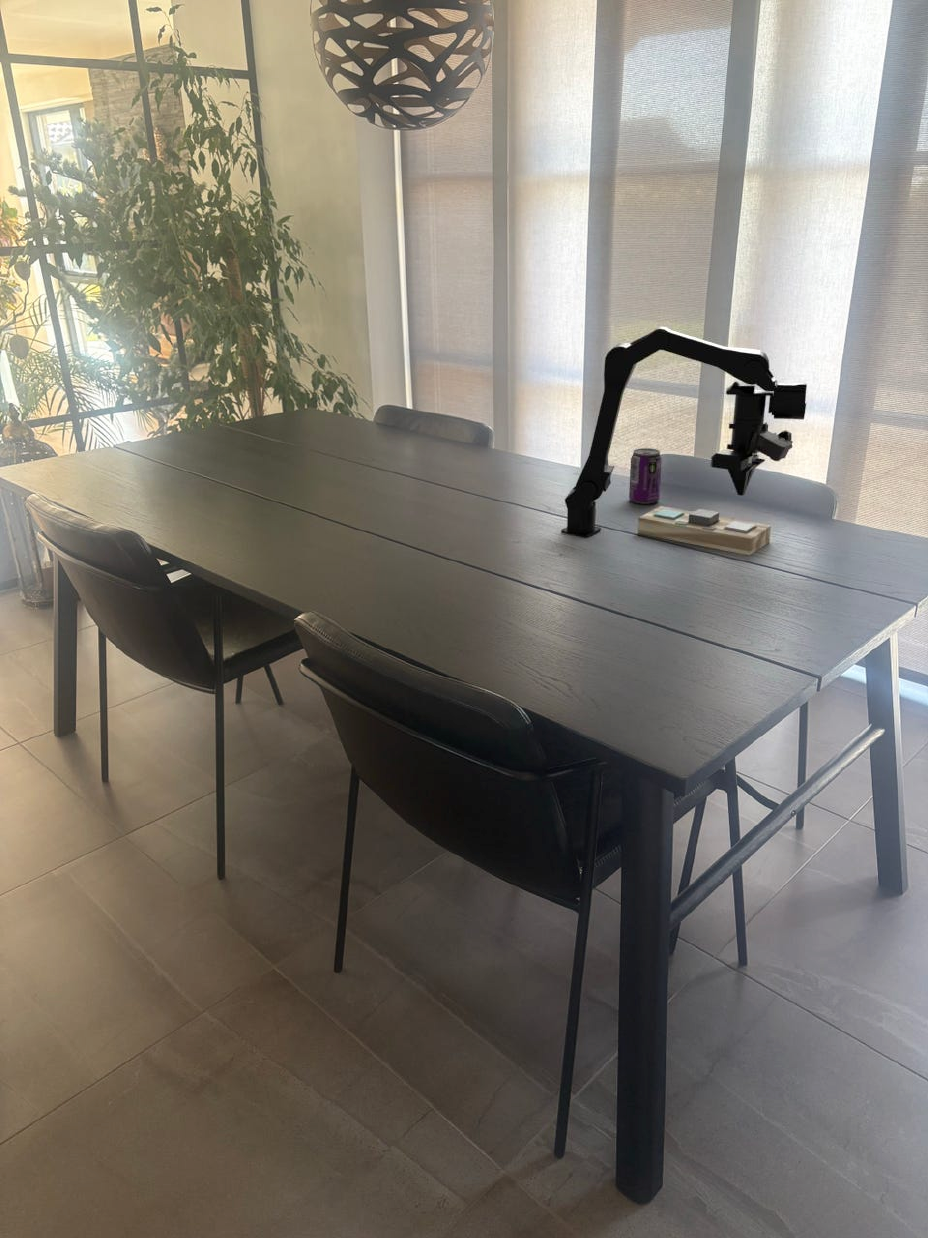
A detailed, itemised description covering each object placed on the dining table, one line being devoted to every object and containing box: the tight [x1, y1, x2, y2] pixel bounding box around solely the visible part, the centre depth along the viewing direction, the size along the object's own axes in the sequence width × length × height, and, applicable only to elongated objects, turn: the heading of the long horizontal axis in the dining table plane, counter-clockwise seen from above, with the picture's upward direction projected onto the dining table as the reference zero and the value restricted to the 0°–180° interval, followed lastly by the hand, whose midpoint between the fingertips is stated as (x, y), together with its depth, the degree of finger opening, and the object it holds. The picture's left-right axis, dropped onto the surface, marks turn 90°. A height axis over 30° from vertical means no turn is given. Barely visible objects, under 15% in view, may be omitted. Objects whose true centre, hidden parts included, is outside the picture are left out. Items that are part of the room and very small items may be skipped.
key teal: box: [654, 509, 684, 520], centre depth 199 cm, size 5×5×3 cm
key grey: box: [725, 521, 756, 534], centre depth 190 cm, size 5×5×3 cm
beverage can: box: [628, 447, 663, 505], centre depth 219 cm, size 7×7×12 cm
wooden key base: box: [637, 505, 772, 556], centre depth 195 cm, size 10×25×4 cm, turn 51°
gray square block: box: [688, 508, 720, 527], centre depth 194 cm, size 5×5×3 cm
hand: (741, 494), depth 188 cm, fingers closed
